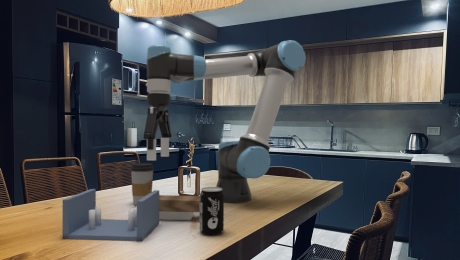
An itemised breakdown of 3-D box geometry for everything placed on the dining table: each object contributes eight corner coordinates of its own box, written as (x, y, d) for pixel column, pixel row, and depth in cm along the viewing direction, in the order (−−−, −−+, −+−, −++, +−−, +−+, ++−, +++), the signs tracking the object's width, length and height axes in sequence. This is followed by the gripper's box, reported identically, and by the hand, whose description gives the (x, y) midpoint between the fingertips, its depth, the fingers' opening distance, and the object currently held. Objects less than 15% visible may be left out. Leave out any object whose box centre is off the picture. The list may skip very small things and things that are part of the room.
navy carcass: (159, 224, 99) (159, 190, 99) (142, 241, 84) (142, 201, 84) (90, 222, 101) (90, 189, 101) (62, 238, 86) (62, 199, 86)
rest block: (192, 217, 107) (192, 208, 107) (190, 220, 104) (190, 210, 104) (161, 216, 107) (161, 207, 107) (158, 219, 104) (159, 209, 104)
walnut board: (202, 206, 108) (202, 196, 108) (199, 212, 102) (199, 200, 101) (154, 205, 110) (154, 195, 110) (147, 211, 103) (147, 199, 103)
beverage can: (228, 232, 92) (228, 188, 92) (211, 238, 87) (211, 192, 87) (211, 227, 96) (211, 185, 96) (194, 232, 91) (194, 188, 91)
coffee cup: (147, 207, 120) (147, 165, 120) (126, 206, 121) (126, 165, 121) (157, 202, 128) (157, 163, 128) (137, 201, 130) (137, 162, 130)
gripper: (159, 97, 122) (159, 155, 122) (132, 89, 97) (132, 161, 98) (179, 96, 121) (179, 155, 121) (157, 88, 97) (157, 162, 97)
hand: (158, 158), depth 110 cm, fingers open, 13 cm apart
